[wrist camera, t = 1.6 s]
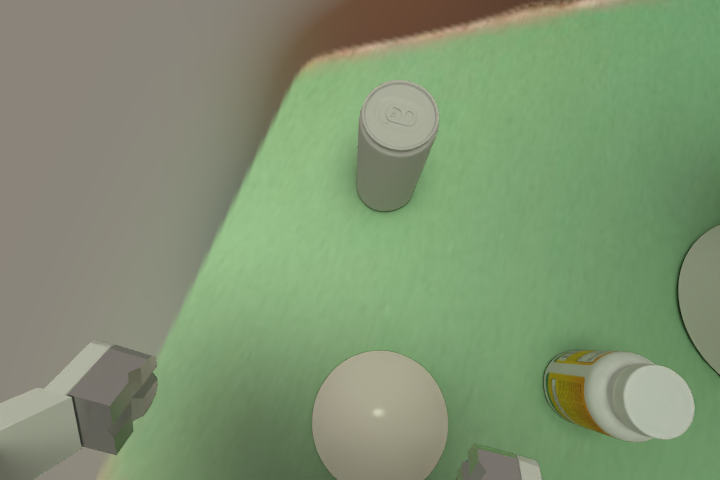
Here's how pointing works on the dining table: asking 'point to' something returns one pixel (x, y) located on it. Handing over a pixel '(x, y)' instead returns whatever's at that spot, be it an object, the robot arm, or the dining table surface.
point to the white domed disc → (380, 419)
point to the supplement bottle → (619, 395)
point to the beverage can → (394, 142)
